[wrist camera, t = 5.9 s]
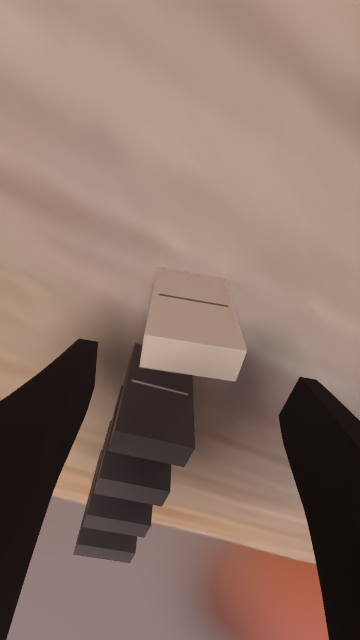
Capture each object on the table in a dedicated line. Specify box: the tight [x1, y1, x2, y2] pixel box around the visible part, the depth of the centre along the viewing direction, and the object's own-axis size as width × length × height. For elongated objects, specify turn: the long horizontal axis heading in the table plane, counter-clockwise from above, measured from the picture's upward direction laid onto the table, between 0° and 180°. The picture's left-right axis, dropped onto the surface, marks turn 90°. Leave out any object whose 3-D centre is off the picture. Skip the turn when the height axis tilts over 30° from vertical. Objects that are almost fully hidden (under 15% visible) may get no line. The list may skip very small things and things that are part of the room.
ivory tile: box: [139, 267, 247, 382], centre depth 15 cm, size 4×2×7 cm, turn 79°
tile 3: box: [82, 421, 152, 537], centre depth 22 cm, size 4×2×7 cm, turn 71°
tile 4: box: [74, 451, 137, 563], centre depth 24 cm, size 4×2×7 cm, turn 71°
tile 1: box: [108, 343, 195, 467], centre depth 18 cm, size 4×2×7 cm, turn 71°
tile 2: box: [94, 386, 171, 506], centre depth 20 cm, size 4×2×7 cm, turn 72°
